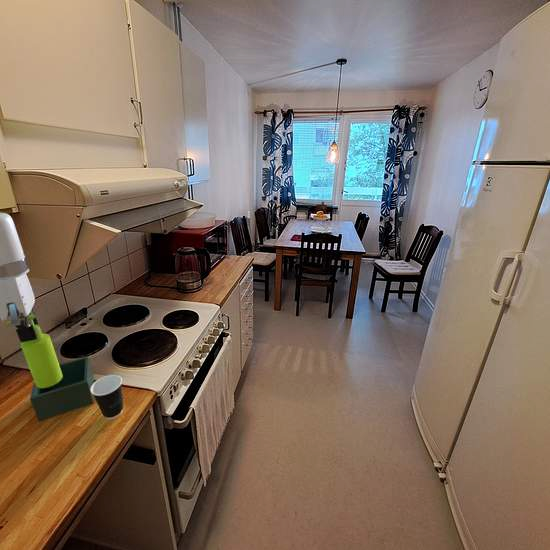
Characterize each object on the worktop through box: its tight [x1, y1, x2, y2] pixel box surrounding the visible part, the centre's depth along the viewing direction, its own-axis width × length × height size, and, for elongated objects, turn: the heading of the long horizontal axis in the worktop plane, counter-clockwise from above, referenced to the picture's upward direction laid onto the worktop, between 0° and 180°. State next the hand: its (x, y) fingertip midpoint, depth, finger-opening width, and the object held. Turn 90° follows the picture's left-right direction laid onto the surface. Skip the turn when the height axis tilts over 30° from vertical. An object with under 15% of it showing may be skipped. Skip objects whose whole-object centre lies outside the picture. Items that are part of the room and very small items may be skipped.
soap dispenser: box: [5, 314, 63, 388], centre depth 73 cm, size 6×7×20 cm
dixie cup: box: [90, 374, 124, 421], centre depth 83 cm, size 8×8×11 cm
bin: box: [29, 356, 95, 422], centre depth 89 cm, size 14×14×9 cm
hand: (30, 335), depth 72 cm, fingers closed on soap dispenser, 3 cm apart
